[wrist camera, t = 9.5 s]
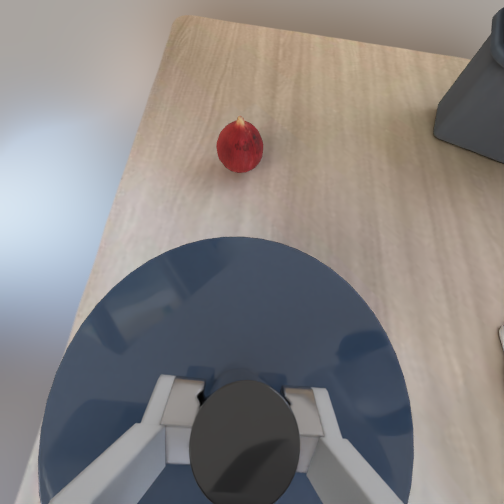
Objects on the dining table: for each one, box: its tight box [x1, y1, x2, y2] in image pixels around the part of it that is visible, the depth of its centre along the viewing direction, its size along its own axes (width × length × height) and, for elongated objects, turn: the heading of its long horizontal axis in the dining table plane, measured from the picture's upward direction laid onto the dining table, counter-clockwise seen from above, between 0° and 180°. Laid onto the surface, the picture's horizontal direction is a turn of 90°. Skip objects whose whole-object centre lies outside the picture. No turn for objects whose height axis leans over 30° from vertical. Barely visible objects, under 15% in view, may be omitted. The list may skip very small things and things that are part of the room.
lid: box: [38, 237, 414, 504], centre depth 9 cm, size 16×16×7 cm
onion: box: [217, 116, 263, 173], centre depth 32 cm, size 6×6×8 cm
